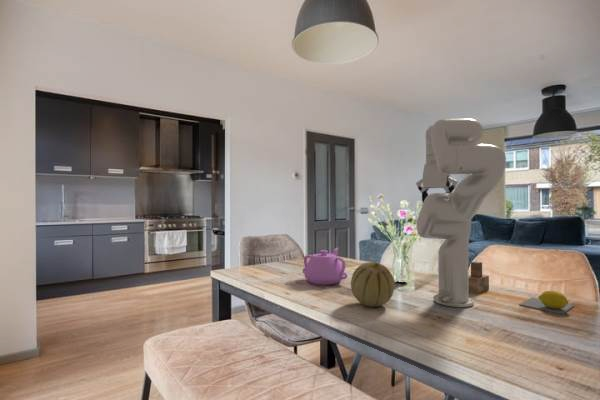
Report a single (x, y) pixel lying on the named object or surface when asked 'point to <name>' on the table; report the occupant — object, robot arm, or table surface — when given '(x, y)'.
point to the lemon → (553, 299)
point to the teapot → (324, 268)
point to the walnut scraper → (478, 279)
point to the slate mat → (539, 305)
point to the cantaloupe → (372, 284)
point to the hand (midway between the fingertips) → (436, 202)
